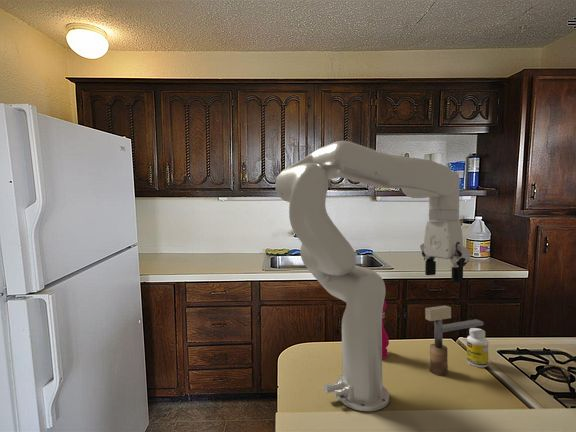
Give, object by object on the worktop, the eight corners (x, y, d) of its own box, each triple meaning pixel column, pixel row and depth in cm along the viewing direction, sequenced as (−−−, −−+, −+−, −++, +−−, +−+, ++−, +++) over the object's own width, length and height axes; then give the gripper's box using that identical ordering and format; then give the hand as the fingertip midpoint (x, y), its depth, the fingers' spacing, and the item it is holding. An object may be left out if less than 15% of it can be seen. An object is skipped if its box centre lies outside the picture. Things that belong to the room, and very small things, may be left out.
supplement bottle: (462, 361, 95) (462, 328, 94) (474, 357, 97) (474, 325, 97) (480, 369, 90) (480, 335, 90) (492, 365, 92) (492, 331, 92)
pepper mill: (390, 360, 96) (389, 294, 96) (365, 359, 98) (364, 293, 97) (387, 350, 103) (386, 288, 103) (364, 348, 105) (363, 288, 104)
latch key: (431, 349, 87) (431, 310, 87) (425, 346, 89) (424, 307, 89) (483, 339, 92) (483, 303, 92) (476, 336, 95) (476, 300, 94)
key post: (438, 377, 86) (438, 351, 86) (426, 369, 91) (426, 344, 90) (451, 374, 88) (451, 348, 88) (439, 366, 92) (438, 342, 92)
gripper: (411, 216, 96) (411, 273, 96) (458, 217, 79) (457, 286, 79) (432, 216, 98) (431, 272, 98) (481, 217, 81) (480, 284, 82)
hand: (443, 278), depth 89 cm, fingers open, 9 cm apart
